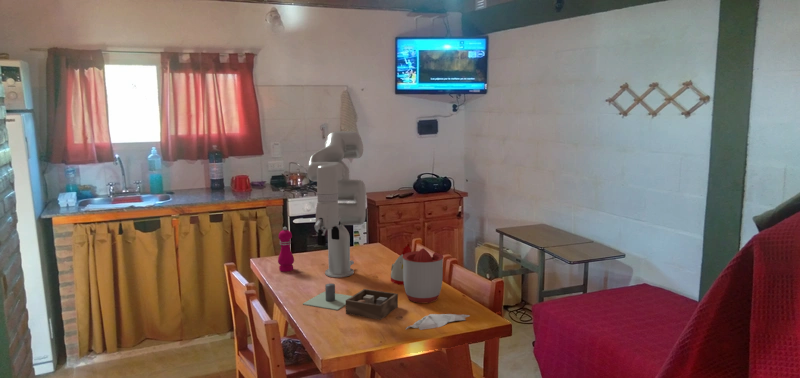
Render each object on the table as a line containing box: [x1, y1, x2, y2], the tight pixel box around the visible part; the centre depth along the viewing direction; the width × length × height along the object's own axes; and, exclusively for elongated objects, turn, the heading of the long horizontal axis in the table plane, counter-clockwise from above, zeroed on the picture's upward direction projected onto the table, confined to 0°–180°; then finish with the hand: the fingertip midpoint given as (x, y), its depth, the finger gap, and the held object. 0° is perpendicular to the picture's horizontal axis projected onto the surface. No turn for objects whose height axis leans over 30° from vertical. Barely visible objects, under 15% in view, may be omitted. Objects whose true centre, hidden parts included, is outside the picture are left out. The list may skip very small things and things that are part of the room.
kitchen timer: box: [390, 245, 412, 286], centre depth 238 cm, size 14×14×15 cm
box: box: [345, 288, 399, 321], centre depth 203 cm, size 14×14×5 cm
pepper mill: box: [277, 226, 295, 273], centre depth 252 cm, size 7×7×20 cm
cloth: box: [405, 313, 471, 331], centre depth 193 cm, size 26×14×2 cm, turn 106°
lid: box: [302, 282, 353, 311], centre depth 213 cm, size 15×15×7 cm
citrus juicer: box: [403, 247, 444, 304], centre depth 215 cm, size 16×17×20 cm
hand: (328, 242), depth 211 cm, fingers open, 9 cm apart
